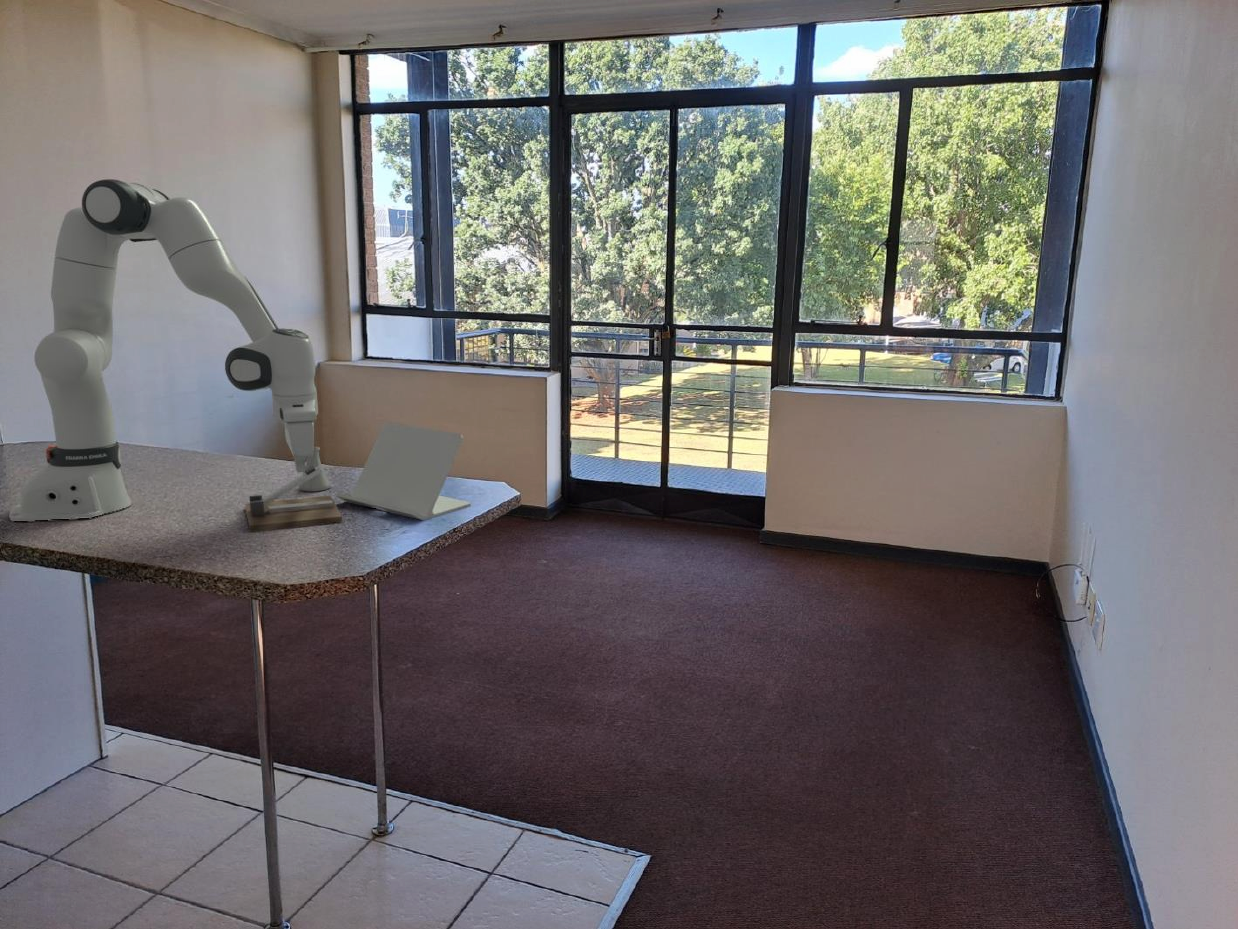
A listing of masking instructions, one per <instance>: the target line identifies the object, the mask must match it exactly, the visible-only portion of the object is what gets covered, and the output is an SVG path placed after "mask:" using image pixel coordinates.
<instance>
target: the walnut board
mask: <svg viewBox="0 0 1238 929" xmlns="http://www.w3.org/2000/svg"><path fill="white" fill-rule="evenodd" d="M329 500H332V502H333V507H332V508H322V509H311V510H301V511H291V512H281V513H271V514H269V508H268V506H276V505H286V504H297V503H308V502H318V501H329ZM244 505H245V513H246V518H247V523H248V528H249V532H256V531H257V532H258V531H266V530H277V528H279V529H287V528H297V526H298V527H305V525H307V526H313V525H312V524H317V525H323V524H322V523H326V524H333V523H332V522H336V523H342V522H343V516H342V514H341V512H340V510H339V509H338V507H337V504H336V503H335V501H334V499H333V498H332V495H326V496H314V497H313V496H311V497H302V498H292V499H281V500H274V501H272V502H270V503H269V504H267V505H265V506H264V516H262V517H252V512H251V509H250V502H249V503H245V504H244Z"/></svg>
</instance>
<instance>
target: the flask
mask: <svg viewBox="0 0 1238 929" xmlns="http://www.w3.org/2000/svg"><path fill="white" fill-rule="evenodd" d="M320 450H321V448H320V447H319V446H313V455H312V457H311V458H306V460H305V470H306V469H308V468H310V467H311V466H313V467H314V468H315V467H317V466H319V467H320V468H321V470H322V472H321V473H319V474H318V475H316V476H314V477H313V478H311V479H309V480H308V481H306V482H304V483H302V484H301V485H299V486H298V489H299V490H300V491H303V492H313V493H314V492H319V491H325V490H328V489H330V488H332V484H331V483H330V480H329V478H328V477H327V475H326V472H325V470H324V467H323V465H322V463H321V458H320ZM303 474H305V472H302V475H303Z"/></svg>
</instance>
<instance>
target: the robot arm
mask: <svg viewBox="0 0 1238 929" xmlns="http://www.w3.org/2000/svg"><path fill="white" fill-rule="evenodd" d="M126 241H131V242H132V243H138V242H151V241H152V242H153V241H158V243H159V244H160V246H161V247H162V248H163V249H162V250H163V251H164V253H165V255H166V257H167V259H168V261H169V263H170V265H171V267H172V269H173V271H174V274H175V275H176V276H177V278H178V280H180V282H181V283H182V284H183V285H184V286H185V288H186V289H188V290H189V291H191V292H193V293H194V294H196V295H199V296H203V297H205V298H208V299H211V300H213V301H216V302H217V303H220V304H221V305H224V306H225V307H226V308H227V309H229V310H230V311H231V312H233V314H234V315H235V316H236V317H237V319H238V321H239V322H240V323H241V326H242V327H243V329H244V331H245V332H246V333H247V335H248V337H249V339H250V340H251V342H250V343H247V344H243V345H240V346H238V347H235V348H233V349H231V351H230V352H228V355H226V358H225V361H224V370H225V375H226V377H227V379H228V381H229V382H230V383H231V385H232V386H234V387H235V388H236V389H238V390H240V391H245V392H246V391H247V392H254V391H260V390H267V389H269V390H270V391H271V396H272V409H273V410H272V411H273V416H274V417H275V418H278V419H279V420H280V424H281V425H284V434H285V436H284V438H285V440H286V443H287V445H288V447H289V449H290V452H291V454H292V455H293V460H294V469H295V470H296V472H297V473H304V472H305V466H306V460H307V458H311V457H312V455H313V447H314V441H315V440H314V439H315V421H317V415H318V414H319V403H318V392H317V387H316V385H315V376H316V363H315V355H314V349H313V348H314V347H313V343H312V341H311V339H310V337H309V335H307V334H306V333H305V332H303V331H301V330H297V329H293V328H279V326H278V325H277V323H276V322H275V320H274V318H273V317H272V315H271V314H270V312H269V310H268V309H267V307H266V305H265V304H264V301H263V300H262V299H261V298H260V296H259V294H258V292H257V290H256V289H255V288H254V287H253V285H252V284H251V282H250V281H249V280H248V278H247V277H246V276H245V275H244V274H243V272H241V270H240V269H239V268H238V266H237V265H236V263H235V261H234V260H233V258H232V257H231V255H230V253H229V252H228V249H227V248H226V246H225V244H224V242H223V240H222V238H221V235H220V234H219V232H218V231H217V229H216V227H215V226H214V224H213V222H212V221H211V220H210V218H209V216H208V215H207V214H206V213H205V211H204V210H203V208H202V207H201V205H200V204H199V203H197V201H195V200H193V199H191V198H188V197H181V196H179V197H173V198H170V197H169V196H167V195H166V194H164V193H163V192H161V191H160V190H158V189H154V188H151V187H148V186H145V185H142V184H141V183H136V182H128V181H123V180H119V179H109V178H108V179H101V180H96V181H94V182H92V183H91V184H89V185H88V186H87V187H86V189H85V191H84V192H83V194H82V198H81V206H80V207H76V208H72V209H70V210H69V211H67V212H66V214H65V215H64V218H63V220H62V223H61V226H60V229H59V233H58V236H57V241H56V246H55V253H54V259H53V260H54V261H53V270H52V271H53V272H52V279H51V289H50V298H51V301H52V308H53V325H54V326H53V332H52V333H49V334H47V335H46V336H45V337H43V338H42V339H41V341H39V343H38V345H37V347H36V349H35V351H34V363H35V367H36V369H37V370H38V372H39V373H40V378H41V382H42V384H43V387H44V390H45V394H46V396H47V400H48V403H49V406H50V409H51V414H52V422H53V429H54V437H55V443H56V444H55V445H54V444H52V445H51V444H50V445H49V446H48V447H47V448H46V450H45V452H46V453H45V456H46V461H47V465H46V466H45V467H44V468H43V469H41V470H40V471H38V473H36V474H34V476H32V477H31V478H29V480H27V481H26V483H25V484H24V485H23V487H22V489H21V491H20V492H21V493H20V497H19V498H20V499H19V500H20V501H19V502H20V504H18V505H16V506H14V507H12V508H11V509H10V511H9V513H8V514H9V515H8V518H10V519H9V520H10V521H11V522H14V521H28V522H36V521H35V520H48V519H61V518H75V517H93V516H97V515H101V516H102V514H103V513H106V514H109V513H108V512H110V513H112V512H111V511H114V512H117V511H116V510H118V511H120V510H119V509H121V510H123V509H122V508H124V509H126V508H128V507H130V506H131V505H132V504H133V502H132V500H131V498H130V496H129V494H128V491H127V488H126V486H125V485H126V484H125V481H124V478H123V475H122V471H121V466H122V458H121V457H122V454H121V447H120V444H119V442H118V441H117V438H116V429H115V420H114V413H113V411H114V410H113V406H112V404H111V402H110V400H109V397H108V393H107V390H106V385H105V383H104V382H105V381H104V378H103V372H104V371H105V370H106V369H107V368H108V366H109V365H110V363H111V360H112V357H113V338H114V336H113V334H114V332H113V329H114V328H113V325H114V324H113V321H114V320H113V319H114V318H113V304H114V292H115V284H116V278H117V277H116V275H117V268H118V258H119V253H120V252H119V251H120V249H121V246H122V245H123V244H124V243H125V242H126ZM103 515H104V514H103ZM48 521H49V520H48Z"/></svg>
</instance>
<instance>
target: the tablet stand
mask: <svg viewBox="0 0 1238 929" xmlns="http://www.w3.org/2000/svg"><path fill="white" fill-rule="evenodd" d="M463 440H464V436H463V435H462V434H461V433H455V432H450V431H445V430H437V429H432V428H431V429H430V428H426V427H419V426H413V425H407V424H401V423H393V422H388V421H386V422H384V423H383V425H382V427H381V429H380V432H379V434H378V436H377V439H376V441H375V443H374V445H373V447H372V449H371V451H370V453H369V455H368V458H367V460H366V462H365V464H364V467H363V469H362V471H361V473H360V475H359V476H358V477H359V478H358V480H357V482H356V483H355V486H354V489H353V490H352V492H351V494H347V493H343V492H337V494H336V497H337V498H339V499H340V500H343V501H344V502H346V501H347V502H346V503H350V502H351V504H354V503H355V505H358V504H359V506H362V505H363V507H366V506H367V507H366V508H370V507H371V508H370V509H374V508H376V509H375V510H379V509H380V510H379V511H384V512H387V513H391V514H395V515H399V516H402V517H403V516H404V517H408V518H411V519H415V520H419V521H424V522H425V521H427V520H429V519H433V518H437V517H439V516H444V515H446V514H449V513H451V512H456V511H459V510H462V509H465V508H468V507H471V505H472V503H471V502H470V501H465V500H461V499H456V498H453V497H448V496H443V495H440V494H441V491H442V489H443V487H444V485H445V482H446V480H447V478H448V475H449V472H450V470H451V468H452V466H453V464H454V462H455V459H456V456H457V455H458V452H459V449H460V447H461V446H462V443H463Z"/></svg>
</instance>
